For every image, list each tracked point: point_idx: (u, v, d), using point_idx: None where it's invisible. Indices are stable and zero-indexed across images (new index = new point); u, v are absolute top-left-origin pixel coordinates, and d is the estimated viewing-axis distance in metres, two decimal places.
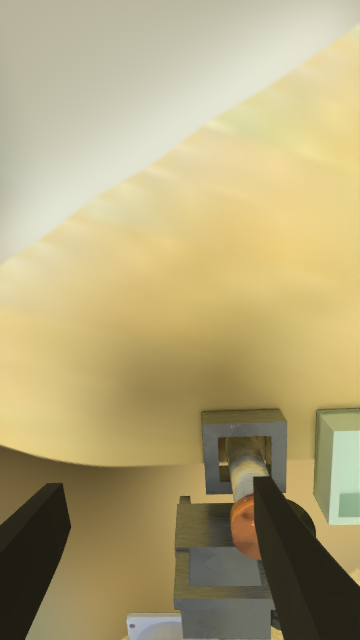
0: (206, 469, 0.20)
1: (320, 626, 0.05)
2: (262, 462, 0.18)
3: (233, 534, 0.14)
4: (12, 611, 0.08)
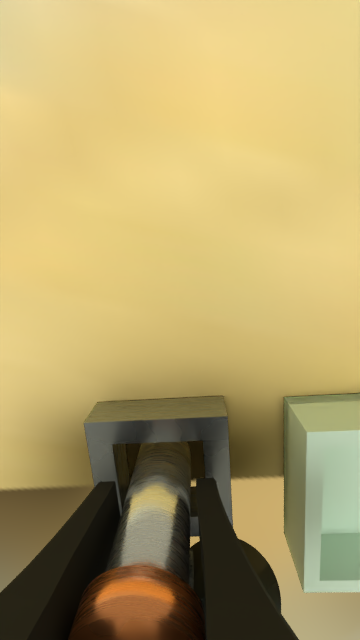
0: None
1: (212, 626, 0.05)
2: (179, 489, 0.10)
3: None
4: None
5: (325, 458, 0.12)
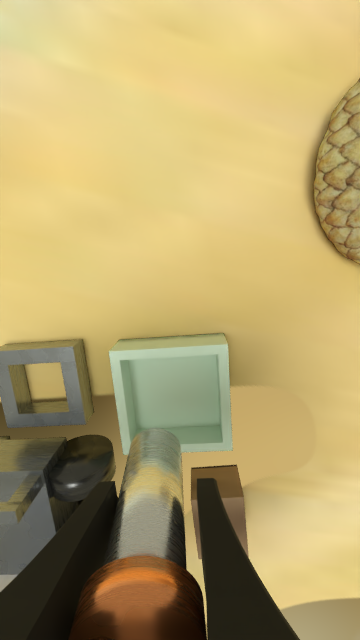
0: (3, 400, 0.19)
1: (213, 626, 0.05)
2: (173, 482, 0.10)
3: None
4: None
5: (143, 377, 0.19)
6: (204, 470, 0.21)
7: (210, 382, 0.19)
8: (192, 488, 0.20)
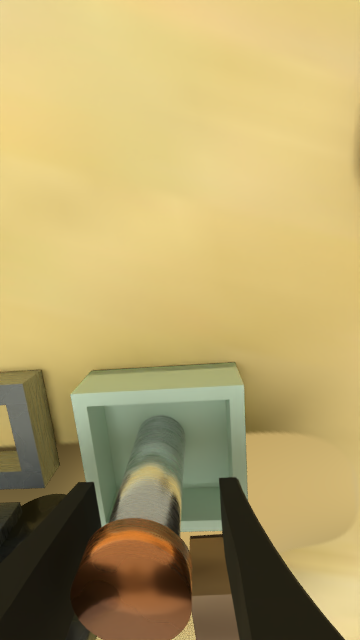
0: None
1: (255, 626, 0.05)
2: (173, 463, 0.11)
3: (72, 601, 0.07)
4: (54, 611, 0.08)
5: (125, 422, 0.14)
6: (207, 541, 0.16)
7: (216, 430, 0.14)
8: None
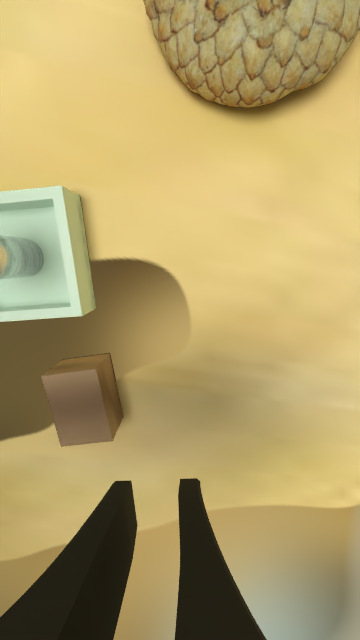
0: None
1: (182, 626, 0.05)
2: (7, 240, 0.15)
3: None
4: (105, 611, 0.08)
5: None
6: (74, 359, 0.20)
7: None
8: (49, 370, 0.18)
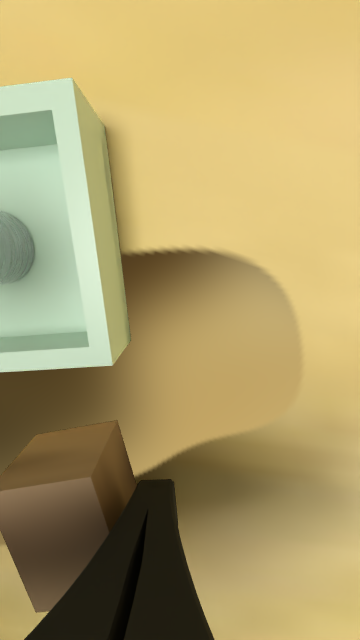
0: None
1: (133, 626, 0.05)
2: None
3: None
4: None
5: None
6: (54, 436, 0.11)
7: None
8: (6, 471, 0.10)
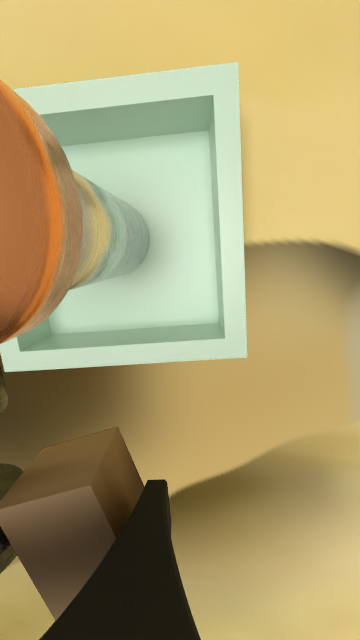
0: None
1: (121, 626, 0.05)
2: (101, 188, 0.06)
3: None
4: None
5: None
6: (58, 448, 0.11)
7: (198, 224, 0.09)
8: (12, 487, 0.10)
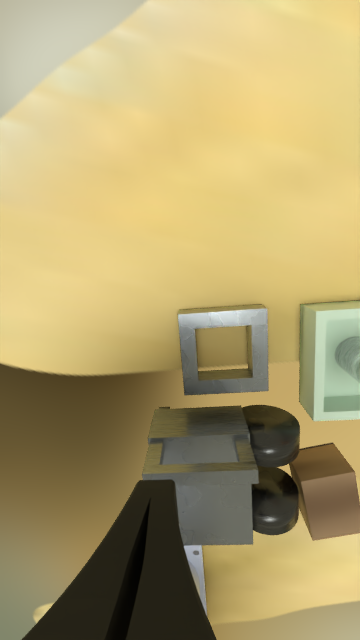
0: (184, 366, 0.19)
1: (135, 626, 0.05)
2: None
3: None
4: None
5: (326, 342, 0.19)
6: (301, 452, 0.21)
7: None
8: (296, 471, 0.20)
